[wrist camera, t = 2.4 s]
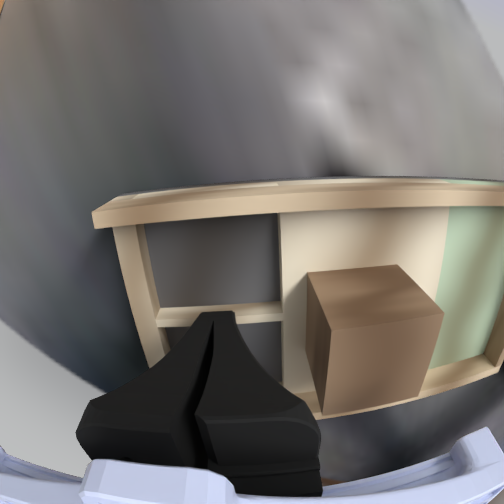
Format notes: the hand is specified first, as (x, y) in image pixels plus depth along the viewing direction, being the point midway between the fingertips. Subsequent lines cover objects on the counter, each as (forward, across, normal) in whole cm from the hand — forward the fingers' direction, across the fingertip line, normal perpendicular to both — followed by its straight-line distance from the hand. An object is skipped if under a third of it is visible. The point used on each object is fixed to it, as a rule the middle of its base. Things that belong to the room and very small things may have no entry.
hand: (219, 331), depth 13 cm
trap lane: (+2, -6, 0) cm, 7 cm away
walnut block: (+1, -6, 0) cm, 6 cm away
